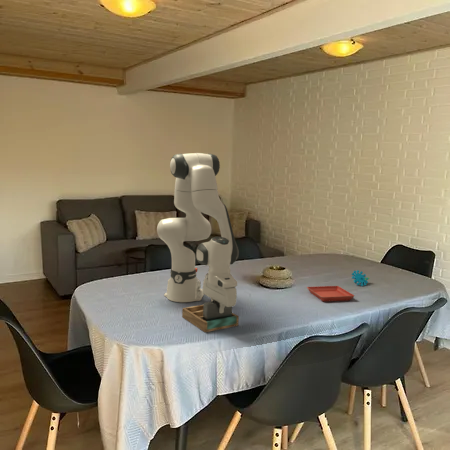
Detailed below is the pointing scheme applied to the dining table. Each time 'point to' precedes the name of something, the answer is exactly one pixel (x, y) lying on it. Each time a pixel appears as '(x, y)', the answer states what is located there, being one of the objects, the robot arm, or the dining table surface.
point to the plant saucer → (330, 293)
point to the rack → (196, 318)
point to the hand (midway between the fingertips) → (217, 310)
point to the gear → (360, 278)
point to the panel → (215, 311)
